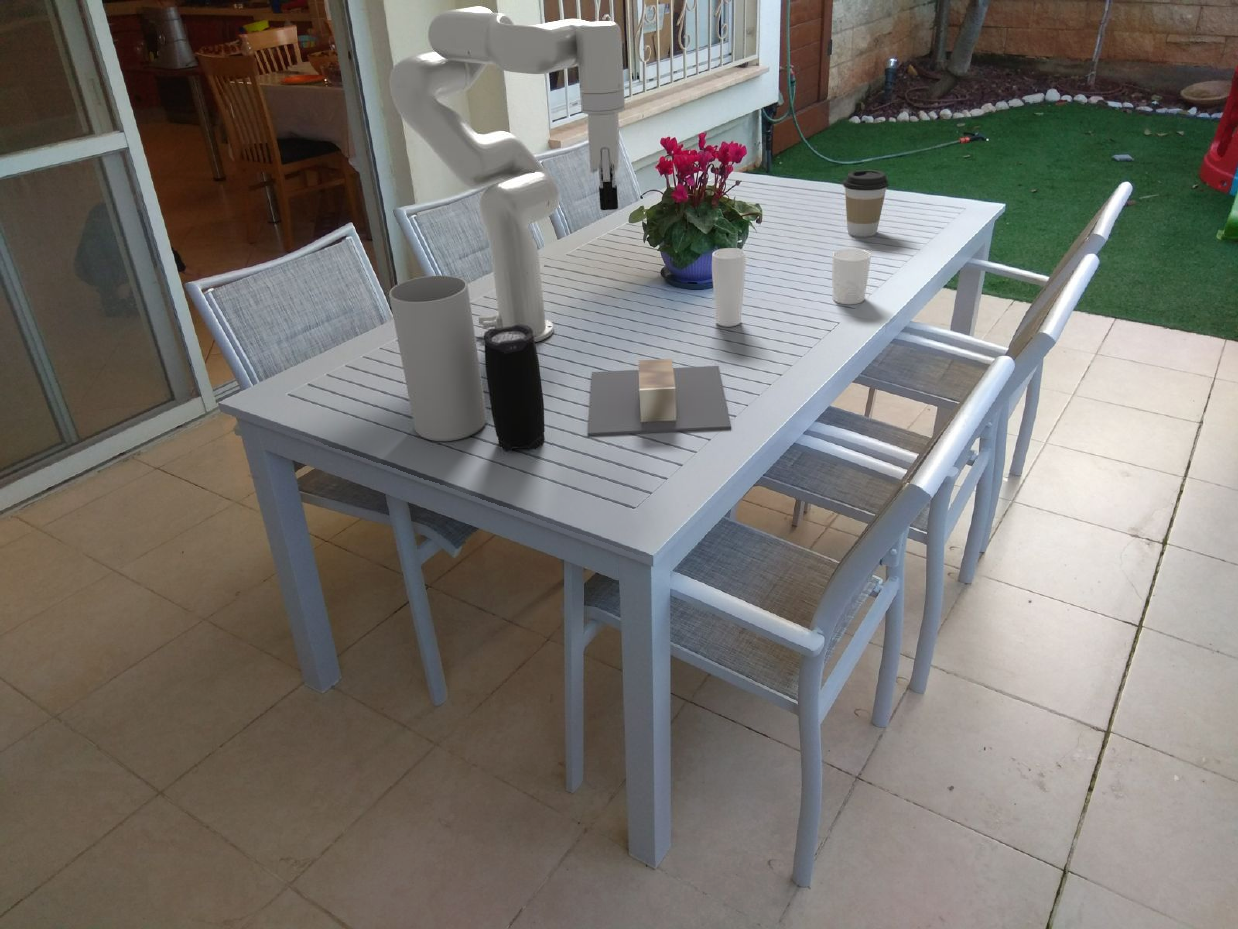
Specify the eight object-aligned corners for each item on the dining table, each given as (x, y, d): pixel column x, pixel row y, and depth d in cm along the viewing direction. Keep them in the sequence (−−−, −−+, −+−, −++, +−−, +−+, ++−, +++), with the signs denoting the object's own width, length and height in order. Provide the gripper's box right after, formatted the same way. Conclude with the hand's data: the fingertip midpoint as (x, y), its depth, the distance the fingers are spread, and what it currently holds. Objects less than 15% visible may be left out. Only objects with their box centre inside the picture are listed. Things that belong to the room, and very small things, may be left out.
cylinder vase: (502, 421, 162) (483, 284, 149) (446, 450, 154) (421, 308, 142) (456, 402, 170) (434, 270, 157) (400, 429, 162) (373, 292, 149)
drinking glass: (743, 329, 191) (744, 258, 183) (710, 328, 192) (710, 258, 185) (746, 317, 197) (747, 247, 189) (714, 316, 198) (713, 247, 190)
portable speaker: (542, 425, 160) (530, 318, 150) (551, 451, 152) (540, 340, 142) (492, 433, 159) (477, 325, 149) (499, 459, 151) (484, 348, 141)
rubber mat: (587, 435, 156) (587, 433, 156) (591, 374, 177) (591, 372, 176) (731, 428, 155) (731, 426, 155) (718, 368, 176) (718, 365, 176)
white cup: (829, 305, 200) (831, 260, 195) (830, 292, 206) (833, 248, 201) (866, 306, 198) (870, 260, 193) (867, 293, 205) (871, 248, 200)
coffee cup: (858, 223, 248) (862, 166, 241) (893, 232, 241) (899, 172, 233) (830, 233, 242) (834, 175, 235) (866, 242, 235) (871, 182, 227)
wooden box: (639, 390, 168) (641, 422, 158) (638, 360, 165) (639, 390, 155) (673, 389, 168) (676, 420, 158) (672, 358, 165) (675, 388, 155)
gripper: (582, 95, 166) (589, 198, 175) (579, 110, 153) (587, 221, 162) (624, 92, 165) (629, 196, 175) (624, 108, 153) (630, 219, 162)
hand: (609, 208), depth 168 cm, fingers closed
